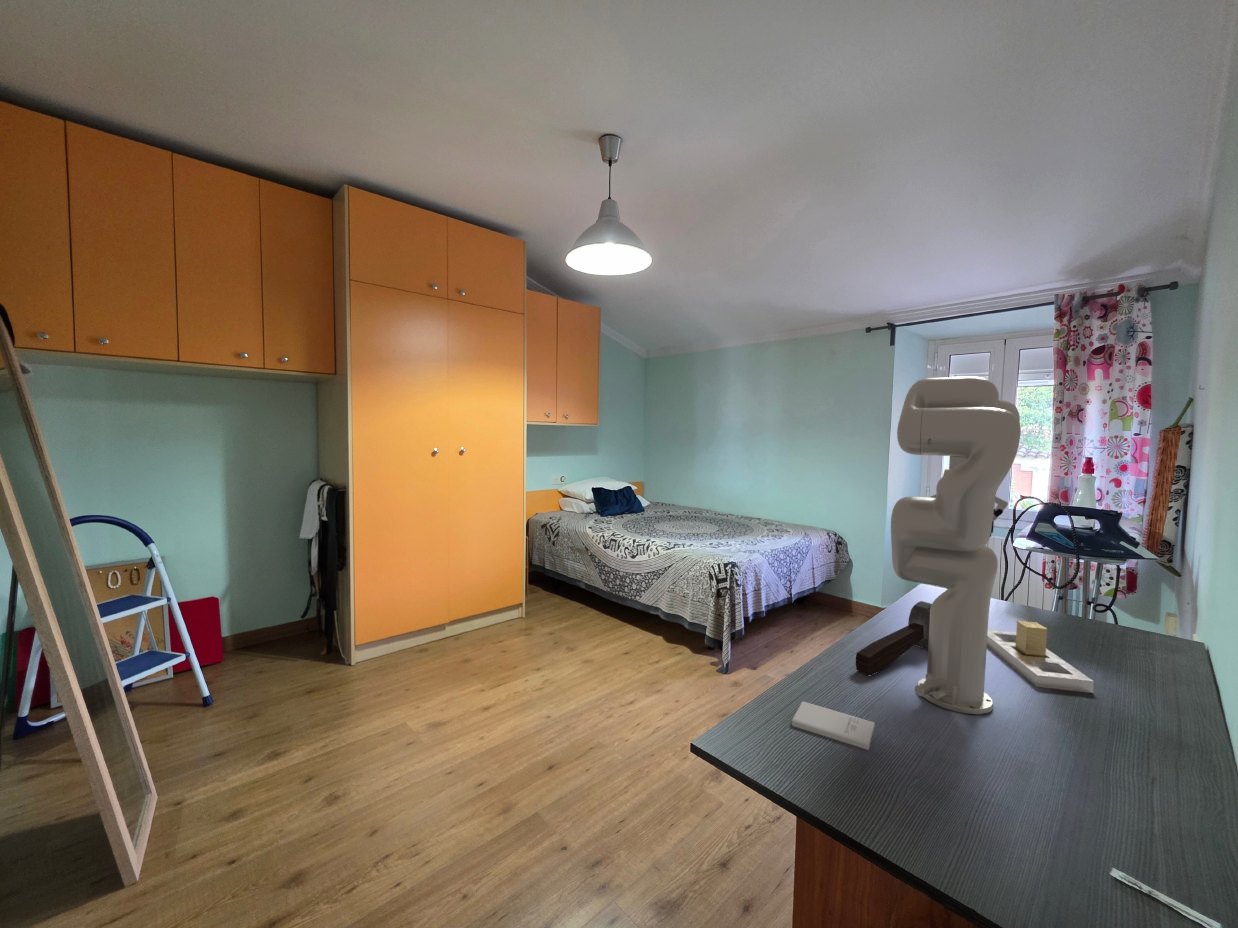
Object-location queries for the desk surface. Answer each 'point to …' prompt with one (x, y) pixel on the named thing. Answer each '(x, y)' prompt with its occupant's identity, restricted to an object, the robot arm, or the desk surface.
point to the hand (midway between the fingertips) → (963, 534)
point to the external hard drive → (834, 725)
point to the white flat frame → (1039, 665)
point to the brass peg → (1031, 639)
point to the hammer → (896, 642)
